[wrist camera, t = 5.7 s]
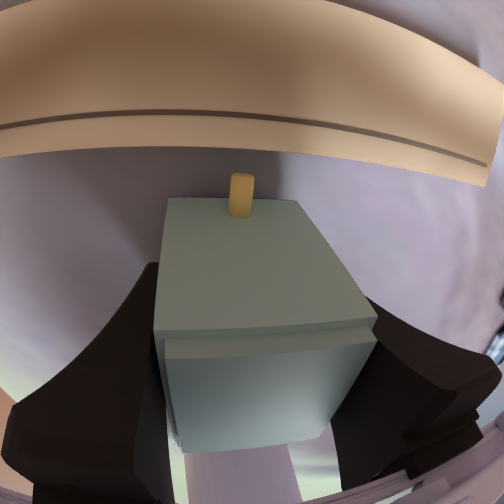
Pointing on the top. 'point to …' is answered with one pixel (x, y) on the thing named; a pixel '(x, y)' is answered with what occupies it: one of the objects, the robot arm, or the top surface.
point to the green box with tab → (254, 322)
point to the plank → (242, 83)
